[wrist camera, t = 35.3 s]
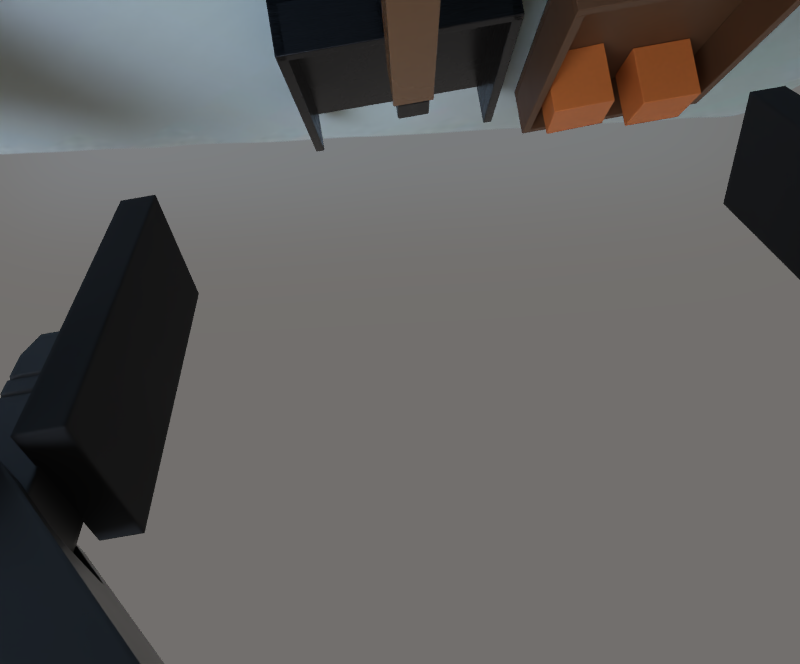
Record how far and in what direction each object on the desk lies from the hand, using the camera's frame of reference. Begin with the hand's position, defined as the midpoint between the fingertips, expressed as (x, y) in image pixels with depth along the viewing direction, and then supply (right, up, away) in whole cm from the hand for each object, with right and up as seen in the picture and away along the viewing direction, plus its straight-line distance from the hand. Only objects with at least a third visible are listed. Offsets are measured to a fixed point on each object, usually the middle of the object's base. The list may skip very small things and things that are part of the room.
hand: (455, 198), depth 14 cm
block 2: (+18, +16, +31) cm, 39 cm away
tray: (+15, +18, +28) cm, 36 cm away
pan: (-2, +16, +18) cm, 24 cm away
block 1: (+11, +15, +30) cm, 35 cm away
